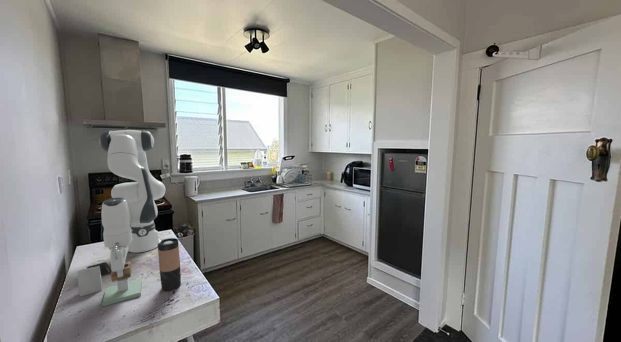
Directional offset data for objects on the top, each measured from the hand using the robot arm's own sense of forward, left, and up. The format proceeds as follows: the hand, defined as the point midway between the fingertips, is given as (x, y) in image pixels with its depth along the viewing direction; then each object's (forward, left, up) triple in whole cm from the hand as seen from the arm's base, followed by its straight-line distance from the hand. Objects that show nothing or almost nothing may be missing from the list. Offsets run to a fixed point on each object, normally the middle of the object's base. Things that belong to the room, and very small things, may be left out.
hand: (121, 271), depth 101 cm
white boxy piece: (-9, -12, -9) cm, 17 cm away
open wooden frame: (0, 0, -2) cm, 2 cm away
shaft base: (0, 0, -9) cm, 9 cm away
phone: (-29, -12, -10) cm, 33 cm away
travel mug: (+5, +17, -9) cm, 20 cm away
